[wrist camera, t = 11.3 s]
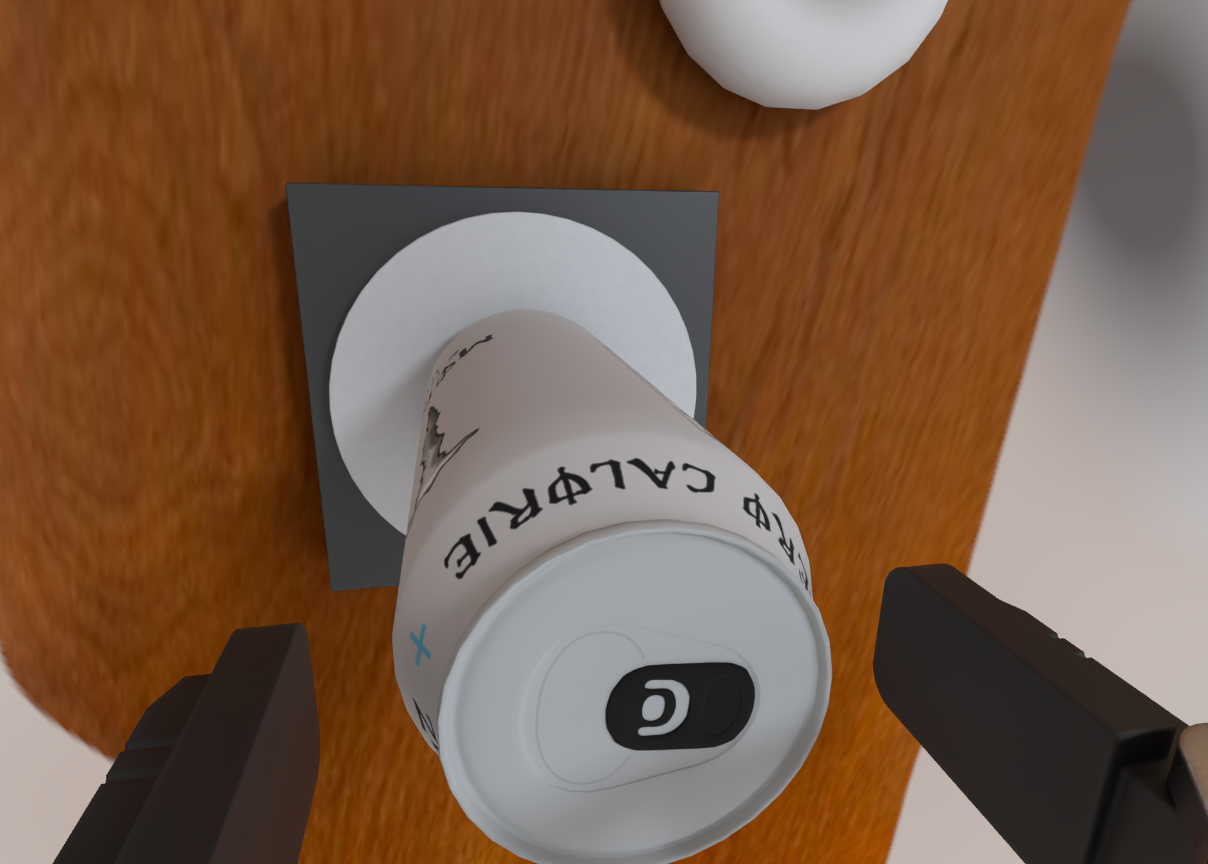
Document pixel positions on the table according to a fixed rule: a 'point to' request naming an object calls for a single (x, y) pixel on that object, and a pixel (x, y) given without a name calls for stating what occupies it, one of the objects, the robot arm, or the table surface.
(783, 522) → the energy drink can
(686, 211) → the scale
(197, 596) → the table surface
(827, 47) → the donut
